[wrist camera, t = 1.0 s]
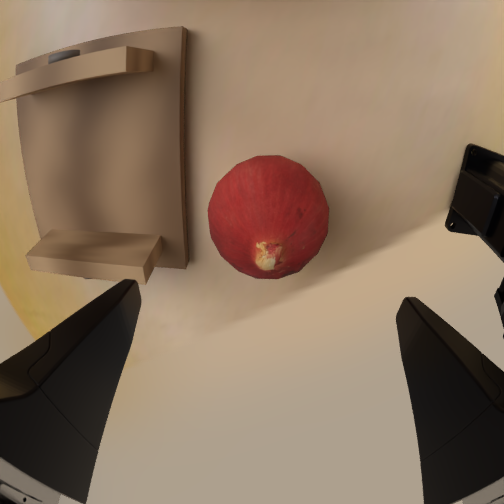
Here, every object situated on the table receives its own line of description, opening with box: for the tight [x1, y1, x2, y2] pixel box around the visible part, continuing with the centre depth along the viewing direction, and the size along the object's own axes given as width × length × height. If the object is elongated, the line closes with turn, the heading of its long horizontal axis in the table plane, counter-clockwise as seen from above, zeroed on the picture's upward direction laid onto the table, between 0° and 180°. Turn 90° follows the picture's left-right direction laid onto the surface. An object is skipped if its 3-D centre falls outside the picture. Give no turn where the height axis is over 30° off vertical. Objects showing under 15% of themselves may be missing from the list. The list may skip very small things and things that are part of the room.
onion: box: [208, 156, 329, 279], centre depth 14 cm, size 6×6×8 cm
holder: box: [0, 26, 189, 285], centre depth 15 cm, size 12×15×4 cm
